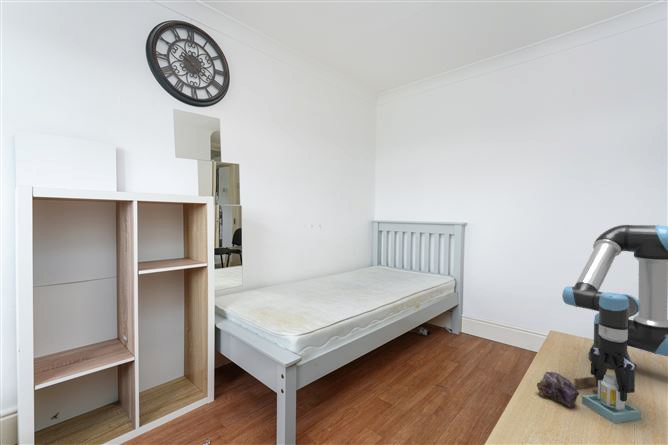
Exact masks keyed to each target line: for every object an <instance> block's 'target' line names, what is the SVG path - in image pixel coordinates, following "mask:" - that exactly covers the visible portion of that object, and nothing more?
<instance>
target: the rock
mask: <svg viewBox="0 0 668 445" xmlns="http://www.w3.org/2000/svg"><path fill="white" fill-rule="evenodd" d="M536 387H537V390H538V392H539V395H540V396H542V397H543V398H545V399H547V398H548V399H550V400H554V401H555V402H557V403H561V404H563V405H564V406H567V407H568V408H573V407H574V406H575V404H576V401H577V398H578V397H579V395H580V392H579V391H578V389H577V390H576V388H575V386H574V382H572V380H570V379H568V378H567V377H565V376H563V375H561V374H560V373H558V372H556V371H554V372H553V371H546V372H545V374H544V375H543V377H542V378H541V379H540V381H539V382H537V383H536Z"/></svg>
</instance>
